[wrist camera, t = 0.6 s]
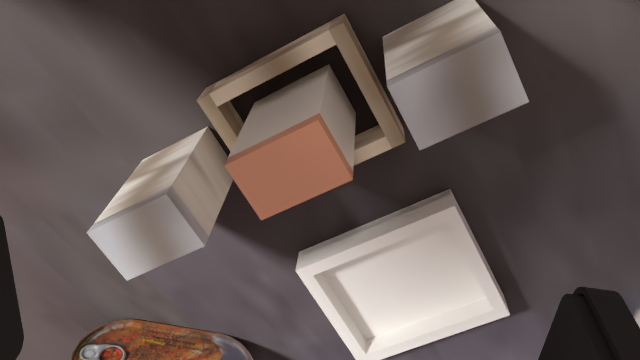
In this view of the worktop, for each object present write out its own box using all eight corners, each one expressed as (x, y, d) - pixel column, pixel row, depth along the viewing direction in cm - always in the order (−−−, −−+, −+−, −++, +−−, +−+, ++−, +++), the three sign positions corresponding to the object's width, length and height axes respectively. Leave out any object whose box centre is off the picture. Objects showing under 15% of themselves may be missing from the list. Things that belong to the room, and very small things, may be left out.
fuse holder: (191, 225, 47) (150, 308, 38) (122, 132, 43) (59, 200, 34) (505, 80, 39) (545, 142, 30) (452, -45, 36) (481, -17, 27)
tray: (360, 344, 51) (360, 366, 49) (298, 251, 47) (295, 270, 45) (503, 294, 48) (510, 315, 45) (450, 188, 43) (454, 205, 41)
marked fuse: (283, 148, 43) (261, 220, 34) (254, 102, 41) (224, 165, 33) (355, 113, 41) (353, 179, 32) (328, 64, 40) (318, 119, 31)
